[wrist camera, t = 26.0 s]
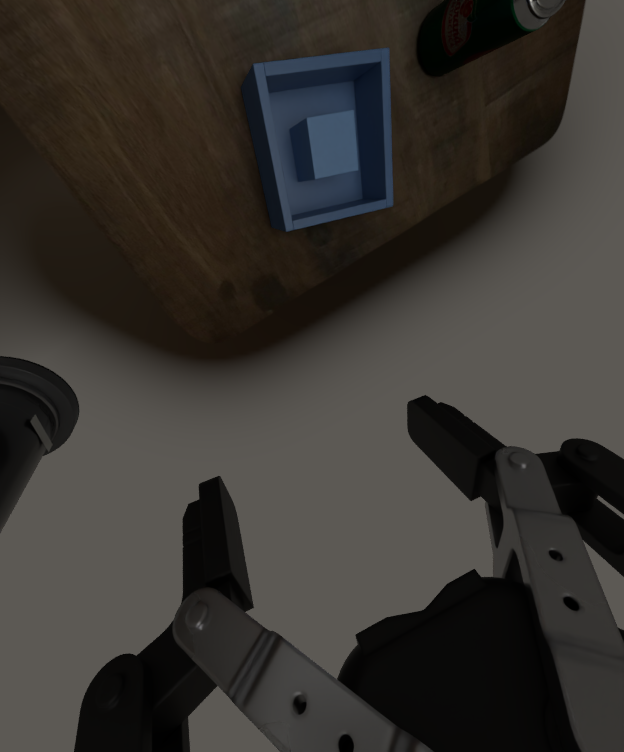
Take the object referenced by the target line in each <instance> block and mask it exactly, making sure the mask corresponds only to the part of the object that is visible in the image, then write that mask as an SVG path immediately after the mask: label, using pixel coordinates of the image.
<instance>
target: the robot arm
mask: <svg viewBox="0 0 624 752" xmlns="http://www.w3.org/2000/svg"><path fill="white" fill-rule="evenodd" d="M407 417H408V419H407V422H408V423H407V425H408V432H409V435H410V437H411V439H412V440H413V442H414V443H415V444H416V445H417V446H418V447H419V448H420V449H421V450H422V451H423V452H424V453H425V454H426V455H427V456H428V457H429V458H430V459H431V460H432V461H433V462H434V463H435V464H436V466H437V467H438V468H439V469H440V470H441V471H442V472H443V473H444V474H445V475H446V476H447V477H448V478H449V479H450V480H451V481H452V482H453V483H454V484H455V485H456V486H457V487H458V488H459V489H460V490H461V491H462V493H464V495H465V496H466V497H467V498H468V499H469V500H470V501H472V500H474V499H476V498H478V497H480V496H481V497H482V498H483V499H484V500H485V501H486V503H485V508H486V514H487V520H488V526H489V532H490V538H491V544H492V550H493V577H481V576H480V575H479V574H478V573H477V571H476V570H475V569H473V570H471V571H470V572H468V573H466V574H464V575H462V576H461V577H459V578H457V579H455V580H453V581H452V582H450V583H448V584H447V585H446V586H445V587H444V588H443V589H442V590H441V591H440V593H439V594H438V595H437V596H436V597H435V598H434V600H433V601H432V602H431V603H430V604H429V605H428V606H427V607H426V608H425V609H424V610H422V611H418V612H413V613H408V614H402V615H396V616H391V617H387V618H385V619H383V620H381V621H379V622H377V623H376V624H374V625H372V626H370V627H368V628H367V629H365V630H363V631H361V632H359V633H358V634H356V639H357V643H358V645H357V646H356V647H355V648H354V649H353V651H352V652H351V653H350V655H349V656H348V657H347V659H346V661H345V662H344V665H343V666H342V668H341V670H340V673H339V676H338V678H337V679H336V678H334V677H333V676H332V675H331V674H329V673H328V672H327V671H325V670H324V669H323V668H322V667H320V666H319V665H318V664H316V663H315V662H314V661H313V660H311V659H310V658H309V657H307V656H306V655H305V654H304V653H302V652H301V651H300V650H299V649H297V648H296V647H295V646H293V645H292V644H291V643H290V642H288V641H287V640H285V639H284V638H283V637H282V636H280V635H279V634H277V633H276V632H274V631H269V630H267V629H266V628H264V627H263V626H262V625H260V624H259V623H258V622H257V621H255V620H254V619H253V618H251V617H250V616H249V615H248V614H247V613H245V612H246V611H248V610H250V609H252V608H254V607H253V601H252V595H251V590H250V584H249V578H248V573H247V567H246V562H245V556H244V550H243V545H242V539H241V534H240V528H239V522H238V517H237V513H236V510H235V506H234V503H233V501H232V499H231V497H230V495H229V493H228V491H227V489H226V487H225V485H224V483H223V481H222V479H221V477H220V476H218V477H215V478H212V479H210V480H207V481H205V482H202V483H200V484H199V500H197V501H194V502H192V503H190V504H188V507H187V509H186V512H185V514H184V517H183V546H184V547H183V598H182V603H181V605H180V607H179V609H178V611H177V613H176V615H175V618H174V620H173V621H172V623H171V624H170V625H169V627H168V628H167V629H166V630H165V631H164V632H163V633H162V634H161V635H160V636H159V637H157V638H156V639H155V640H154V641H153V642H152V643H151V644H149V645H148V646H147V647H146V648H145V649H144V650H143V651H141V652H140V653H139V654H138V655H137V656H135V655H133V654H123V655H120V656H118V657H115V658H114V659H112V660H111V661H110V662H108V663H107V664H106V665H105V666H104V667H103V668H102V669H101V670H100V671H99V672H98V673H97V675H96V676H95V677H94V679H93V680H92V682H91V683H90V685H89V687H88V689H87V691H86V693H85V695H84V699H83V701H82V705H81V710H80V717H79V723H78V729H77V736H76V743H75V749H74V752H190V743H189V727H188V716H189V715H190V714H191V713H192V712H193V711H194V710H195V709H196V708H197V706H198V705H199V704H200V703H201V702H202V701H203V700H204V699H205V698H206V697H207V696H208V695H209V694H210V693H211V692H212V691H213V690H214V689H215V688H216V687H217V686H219V688H220V689H221V690H223V692H224V693H225V694H226V695H227V696H228V697H229V698H230V699H231V700H232V702H233V703H234V704H235V705H236V706H237V707H238V708H239V709H240V711H241V712H243V714H244V715H245V716H246V717H247V718H248V719H249V720H250V721H251V722H252V723H253V724H254V725H255V726H256V727H257V728H258V729H259V730H260V731H261V732H262V733H263V734H264V735H265V736H266V737H267V738H268V739H269V741H270V742H271V743H272V744H273V745H274V746H275V747H276V748H277V749H278V750H279V751H280V752H624V630H622V629H620V628H618V627H617V624H616V622H615V620H614V617H613V615H612V612H611V610H610V607H609V605H608V602H607V600H606V597H605V595H604V592H603V590H602V587H601V585H600V582H599V580H598V577H597V575H596V572H595V570H594V567H593V565H592V563H591V560H590V557H589V555H588V552H587V550H586V548H585V545H584V543H583V540H584V541H585V542H586V543H587V544H588V545H589V546H590V547H591V548H592V549H594V550H595V551H596V552H597V553H598V554H599V555H600V556H601V557H602V558H603V559H605V560H606V561H607V562H608V563H609V564H610V565H611V566H612V567H613V568H615V569H616V570H617V571H618V572H619V573H620V574H621V575H622V576H623V577H624V519H622V518H621V517H620V516H618V515H617V514H616V513H615V512H613V511H612V510H611V509H609V508H608V507H607V506H606V505H604V504H603V503H602V502H600V501H599V500H598V499H597V496H598V495H599V496H600V497H602V498H603V499H604V500H605V501H607V502H608V503H609V504H611V505H612V506H613V507H615V508H616V509H617V510H619V511H620V512H621V513H623V514H624V459H622V458H621V457H619V456H618V455H616V454H615V453H613V452H611V451H610V450H608V449H606V448H605V447H603V446H601V445H600V444H598V443H595V442H593V441H589V440H585V439H569V440H566V441H564V442H563V444H562V445H561V448H560V451H557V452H548V453H540V454H534V453H532V452H531V451H529V450H526V449H524V448H520V447H512V446H509V447H507V446H505V445H504V444H502V443H501V442H500V441H498V440H497V439H496V438H494V437H493V436H492V435H490V434H489V433H488V432H486V431H485V430H484V429H482V428H481V427H480V426H478V425H477V424H476V423H473V422H472V420H470V419H469V418H468V417H466V416H464V414H462V413H461V412H460V411H458V410H457V409H456V408H455V407H452V406H450V405H447V404H444V403H442V402H440V403H438V404H437V403H436V402H435V401H433V400H432V399H431V398H430V397H428V396H426V395H425V396H422V397H419V398H417V399H414V400H411V401H409V402H408V404H407ZM59 425H60V415H59V411H58V409H57V407H56V405H55V404H54V402H53V401H52V400H51V399H50V398H49V397H48V396H47V395H46V394H44V393H43V392H42V391H40V390H39V389H37V388H35V387H33V386H31V385H29V384H26V383H24V382H21V381H18V380H13V379H9V378H1V377H0V533H1V531H2V529H3V527H4V525H5V524H6V522H7V520H8V518H9V516H10V514H11V513H12V511H13V509H14V507H15V505H16V504H17V502H18V500H19V498H20V496H21V494H22V492H23V491H24V489H25V487H26V485H27V483H28V482H29V480H30V478H31V476H32V474H33V473H34V471H35V469H36V467H37V465H38V463H39V462H40V460H41V458H42V456H43V454H44V453H45V451H46V449H47V450H48V452H49V451H50V449H51V447H52V445H53V444H52V442H51V441H52V440H53V438H54V436H55V435H56V433H57V431H58V429H59Z"/></svg>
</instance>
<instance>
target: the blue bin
mask: <svg viewBox="0 0 624 752" xmlns="http://www.w3.org/2000/svg"><path fill="white" fill-rule="evenodd" d="M241 90H242V95H243V100H244V104H245V109H246V113H247V118H248V122H249V127H250V131H251V136H252V140H253V145H254V150H255V154H256V159H257V163H258V168H259V172H260V177H261V181H262V186H263V190H264V195H265V200H266V204H267V209H268V213H269V218H270V222H271V227H272V228H275V229H279V230H282V231H286V232H288V231H292V230H296V229H300V228H305V227H309V226H313V225H317V224H321V223H325V222H329V221H334V220H338V219H342V218H346V217H350V216H354V215H358V214H363V213H367V212H371V211H375V210H379V209H383V208H387V207H391V206H393V178H392V139H391V101H390V62H389V48H381V49H372V50H364V51H355V52H347V53H338V54H330V55H322V56H313V57H305V58H296V59H288V60H280V61H271V62H264V63H254V64H253V65H252V67H251V69H250V71H249V72H248V74H247V76H246V78H245V80H244V82H243V84H242V86H241ZM349 110H354V118H355V131H356V144H357V157H358V171H353V172H349V173H344V174H339V175H334V176H330V177H325V178H320V179H315V180H309V181H303V182H298V177H297V171H296V165H295V160H294V154H293V148H292V142H291V136H290V128H292V127H293V126H295V125H296V124H298V123H299V122H301V121H302V120H304V119H305V118H307V117H313V116H319V115H325V114H331V113H337V112H343V111H349Z"/></svg>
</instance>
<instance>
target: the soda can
mask: <svg viewBox="0 0 624 752" xmlns="http://www.w3.org/2000/svg"><path fill="white" fill-rule="evenodd" d="M564 2H565V0H444V1H443V2H442V3H440V4H439V5H438V6H436V7H435V8H434V9H433V10H432V11H431V12H430V13H429V14H428V16H427V17H426V19H425V21H424V24H423V26H422V30H421V35H420V44H419V47H420V56H421V60H422V63H423V65H424V67H425V68H426V70H427V71H428V72H429V73H430V74H432V75H434V76H442V75H444V74H447V73H449V72H451V71H453V70H455V69H457V68H459V67H461V66H463V65H465V64H467V63H469V62H471V61H473V60H475V59H478V58H480V57H482V56H484V55H486V54H488V53H490V52H492V51H494V50H496V49H498V48H500V47H502V46H504V45H506V44H509V43H511V42H513V41H515V40H517V39H519V38H521V37H523V36H525V35H527V34H529V33H531V32H533V31H535V30H538V29H539V28H541V27H542V26H543V25H544V24H545V23H546V22H547V21H548V20H549V18H550V17H551V16H552V15H554V14H555V13H556V12H557V11H558V10H559V9H560V8H561V6H562V5H563V4H564Z"/></svg>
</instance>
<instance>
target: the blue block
mask: <svg viewBox="0 0 624 752" xmlns="http://www.w3.org/2000/svg"><path fill="white" fill-rule="evenodd" d="M290 136H291V142H292V148H293V154H294V160H295V165H296V171H297V177H298V182H303V181H309V180H315V179H320V178H325V177H330V176H334V175H339V174H344V173H349V172H353V171H358V157H357V144H356V131H355V118H354V110H349V111H343V112H337V113H331V114H325V115H319V116H313V117H307V118H305V119H304V120H302V121H301V122H299V123H298V124H296V125H295V126H293V127H292V128H290Z"/></svg>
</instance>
